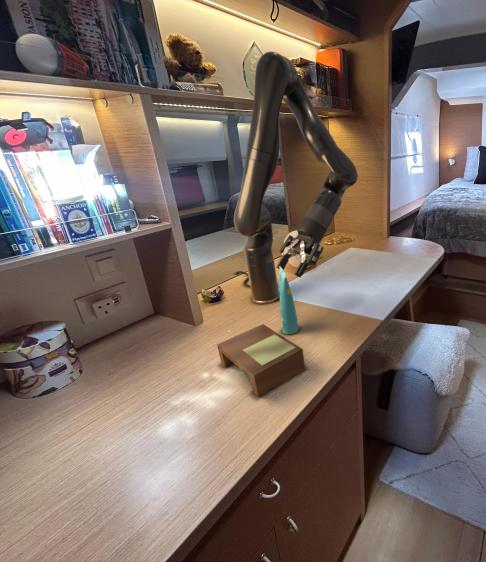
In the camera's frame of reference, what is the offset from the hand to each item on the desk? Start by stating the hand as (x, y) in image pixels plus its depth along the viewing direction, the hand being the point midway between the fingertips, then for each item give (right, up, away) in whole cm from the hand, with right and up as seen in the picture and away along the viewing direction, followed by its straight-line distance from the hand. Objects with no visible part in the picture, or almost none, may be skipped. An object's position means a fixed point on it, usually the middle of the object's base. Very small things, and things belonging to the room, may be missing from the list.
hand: (288, 272), depth 94 cm
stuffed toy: (-3, +4, +56) cm, 56 cm away
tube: (0, -17, +6) cm, 18 cm away
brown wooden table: (-4, -24, -9) cm, 26 cm away
